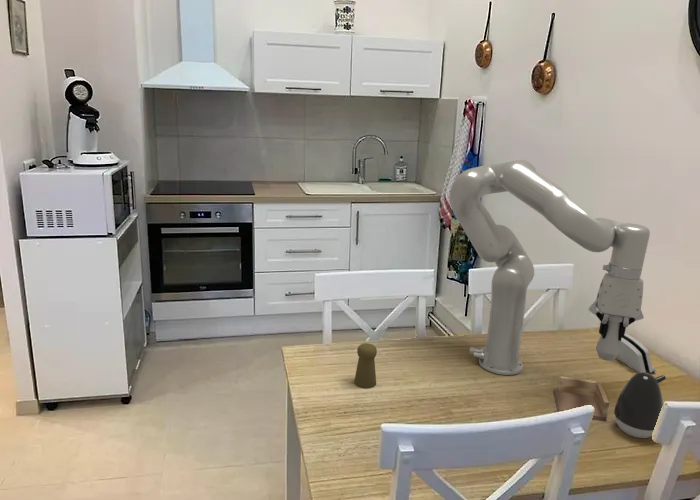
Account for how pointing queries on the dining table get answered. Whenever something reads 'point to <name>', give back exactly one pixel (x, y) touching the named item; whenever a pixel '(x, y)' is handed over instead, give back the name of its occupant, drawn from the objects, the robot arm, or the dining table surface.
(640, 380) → the pump dispenser
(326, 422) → the dining table surface
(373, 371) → the brown pawn
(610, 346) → the salt shaker
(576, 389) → the corner tray
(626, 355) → the white rounded block
